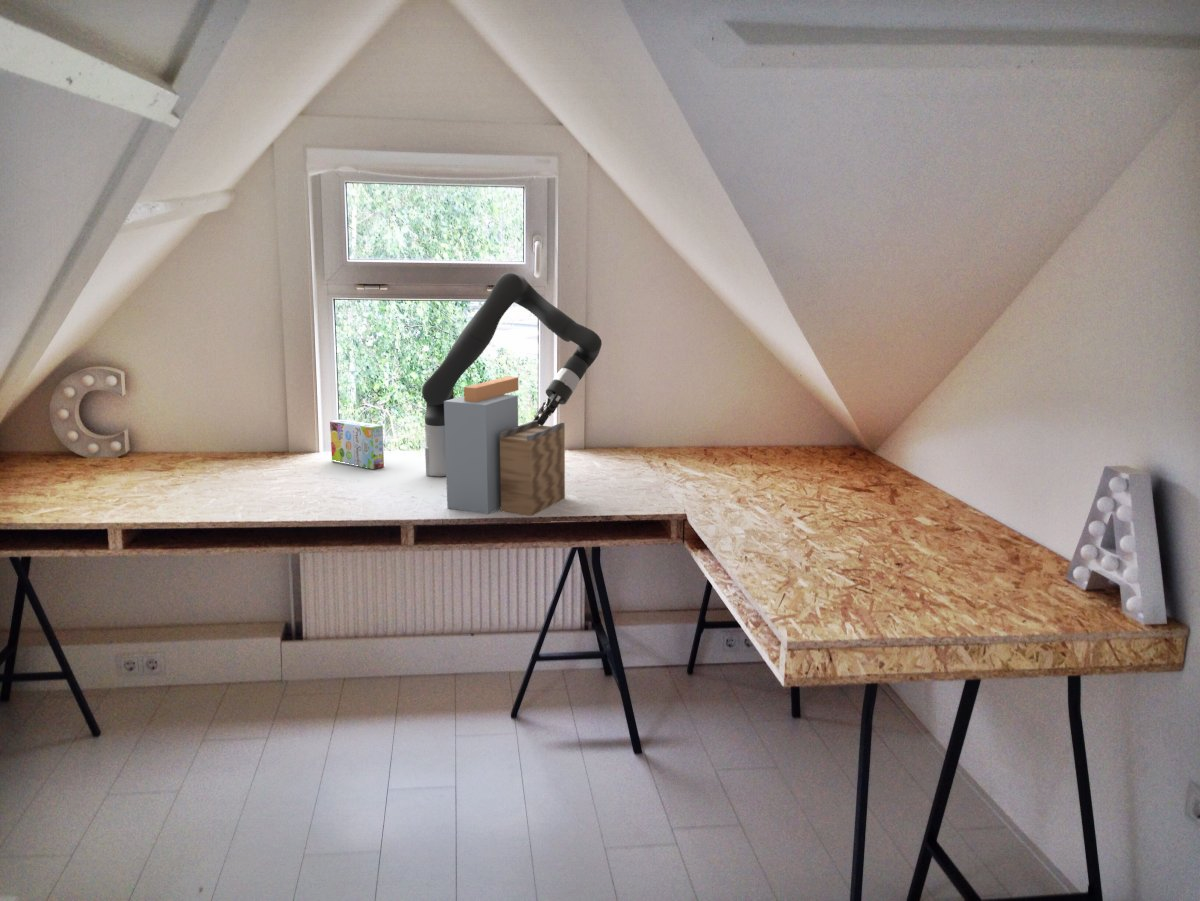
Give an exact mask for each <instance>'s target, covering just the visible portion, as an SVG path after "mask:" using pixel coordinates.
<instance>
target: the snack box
mask: <svg viewBox="0 0 1200 901" xmlns="http://www.w3.org/2000/svg"><path fill="white" fill-rule="evenodd" d="M329 428H330V429H329V431H330V446H331V461H332V460H336V461H340V462H345V463H349V464H354V465H358V466H362V467H367V468H366V469H368V468H372V469H371V470H373V469H374V470H377V469H376V468H378V469H381V468H380V467H383V468H384V467H385V462H384V461H385V459H384V458H385V457H384V454H385V453H384V434H383V433H384V428H383V425H382V424H376V423H371V422H370V423H368V422H363V421H362V422H361V421H355V420H348V419H335V420H330V421H329ZM362 467H361V468H362Z"/></svg>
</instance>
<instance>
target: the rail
mask: <svg viewBox="0 0 1200 901" xmlns="http://www.w3.org/2000/svg"><path fill="white" fill-rule="evenodd" d="M518 391H519V377H518V376H503V377H499V378H496V379H491V380H487V381H483V382H479V383H476V384H471V385H467V386H464V387H463V396H464V401H471V402H478V401H481V400H485V399H489V398H492V397H496V396H499V395H503V394H505V395H508V394H510V393H513V392H518Z"/></svg>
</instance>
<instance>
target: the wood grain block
mask: <svg viewBox="0 0 1200 901" xmlns="http://www.w3.org/2000/svg"><path fill="white" fill-rule="evenodd" d="M565 427H566V426H565V422H559V423H558V424H554V425H551V426H549V425H548V426H547V425H543V426H541V425H538V423H537V420H535V421H533V420H532V421H529V422H526V423H524V424H520V425H518V426H517V427H514V428H512V429H509V430H506V431H503V432H500V475H501V508H500V510H501V511H500V512H503V513H510V514H516V515H524V516H527V517H528V516H529V517H530V516H531V517H532V516H534V515H535V514H538V513H540V512H541V511H543V510H545V509H548V508H549V507H551V506H553V505H555V504H557V503H558V502H560V501H562V500H564V499H565V498H566V489H565V488H566V479H565V478H566V476H565V474H566V473H565V470H566V461H565V458H566V457H565V454H566V452H565V451H566V450H565V449H566V446H565V445H566V442H565V435H566V434H565V430H566V429H565Z"/></svg>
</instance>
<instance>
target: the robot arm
mask: <svg viewBox="0 0 1200 901" xmlns="http://www.w3.org/2000/svg"><path fill="white" fill-rule="evenodd" d="M514 304H517V305H519V306H520V307H522V308H524V309H526V310H527V311H529V312H530V313H531V314H532V315H533V316H534V317H535V318H537V319H538V320H539V321H540V322H541V323H542V324H543V325H544V326H545V327H546V328H547V329H548V330H550V331H551V332H552V333H554V334H555V335H556V336H557V337H559V338H560V339H561V340H563V341H564V342H566V343H568V342H572V343H574V344H576V345H577V348H576V349H575V351H574V352H573V354H572V355H571V356H570V357H568V359H567V360H566V361H565V362H564V364H563V366H562V367H561V369H559V371H558V372H556V374H555V376H554V377H553V379H552V380H551V382H550V383H549V384H548V386H547V388H546V389H545V394H546V396H547V397H548V398H546V399H545V400H543V403H542V404H541V406H540V407H539V409H538V411H537V412H536V413H535V415H534V417H533V420H532V421H535V420H537V423H538V425H540V426H545V425H544V424H545V423H546V422H547V420H548V419H549V418H550V417H551V416H552V414H555V411H556V410H557V408H558V407H559V405H566V404H567V403H568V401H569V399H570V397H571V396H572V395H573V393H574V392H575V390H576V389H577V387H578V385H579V383H580V381H581V380H582V379H583V377H584V376H585V373H586V372H587V371H588V369H589V368H590V367H591V365H592V364H593V363H594V362H595V361H596V359H597V357H598V356H599V354H600V352H601V348H602V346H603V345H602V339H601V337H600V336H599V335H598V333H597V332H596V331H593V330H592V329H590V328H588V327H587V326H584V325H583V324H579V323H578V322H576V321H575V320H573V319H572V318H571V317H570V316H569V315H567V314H566V313H564V312H563V311H562V310H560V309H559V308H558V307H556V306H554V305H553V304H552V303H551V302H549V301H548V300H547V299H545V298H544V297H543V296H542V295H541V294H539V293H538V292H537V290H536V289H534V287H533V286H532V285H531V284H530V283H529V282H528V281H527V279H525V277H524V276H523V275H520V274H519V273H515V272H506V273H503V274H502V275H501V276H500V277H499V278H498V279H497V280H496V282H495V283H494V285H493V288H492V289H491V291H490V293H489V294H488V296H487V298H486V300H485V301H484V303H483V304H482V305H481V307H480V308H479V309H478V310H477V312H475V314H474V316H473V317H472V318H471V320H469V322H468V323H467V324H466V325H465V327H464V329H462V331H461V332H460V333H459V335H458V337H457V338H456V340H455V341H454V343H453V345H452V346H451V348H450V350H449V351H448V353H447V355H446V356H445V359H444V360H443V361H442V362H441V364H440V365H439V367H437V369H436V370H435V371H434V372H433V373H432V375H430V376H429V377H428V379H426V380H425V381H424V383H423V385H422V387H421V394H422V398H423V400H424V401H425V403H426V407H425V408H426V409H425V414H424V429H425V430H424V431H425V433H424V435H425V448H424V456H425V476H429V477H430V476H431V477H446V450H445V420H444V401H446V400H450V399H454V398H455V397H454V394H455V393H454V387H455V386H456V384H457V382H458V381H459V379H460V378H461V376H462V375H463V374H464V373H465V372H466V371H467V370H468V369H469V368H470V367H472V365H473V364H474V363H475V362H476V361H477V360H478V358H479V357H480V356H481V355H482V354H483V352H484V351H485V349H486V348H487V347H488V345H489V344H490V343H491V341H492V339H493V338H494V336H495V333H496V331H497V328H498V327H499V323H500V321H501V319H502V318H503V316H504V314H505V313H506V312H507V311H508V310H509V309H510V308H511V306H513V305H514ZM539 415H540V416H539Z"/></svg>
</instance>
